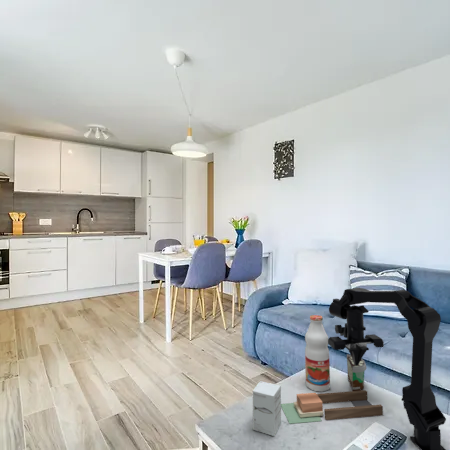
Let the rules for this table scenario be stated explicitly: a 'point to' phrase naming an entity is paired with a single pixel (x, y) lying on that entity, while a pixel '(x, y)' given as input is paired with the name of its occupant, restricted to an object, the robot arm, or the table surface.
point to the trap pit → (361, 403)
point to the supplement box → (267, 408)
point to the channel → (349, 411)
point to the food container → (355, 374)
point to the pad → (296, 415)
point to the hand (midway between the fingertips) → (356, 365)
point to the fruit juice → (317, 356)
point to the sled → (309, 405)
